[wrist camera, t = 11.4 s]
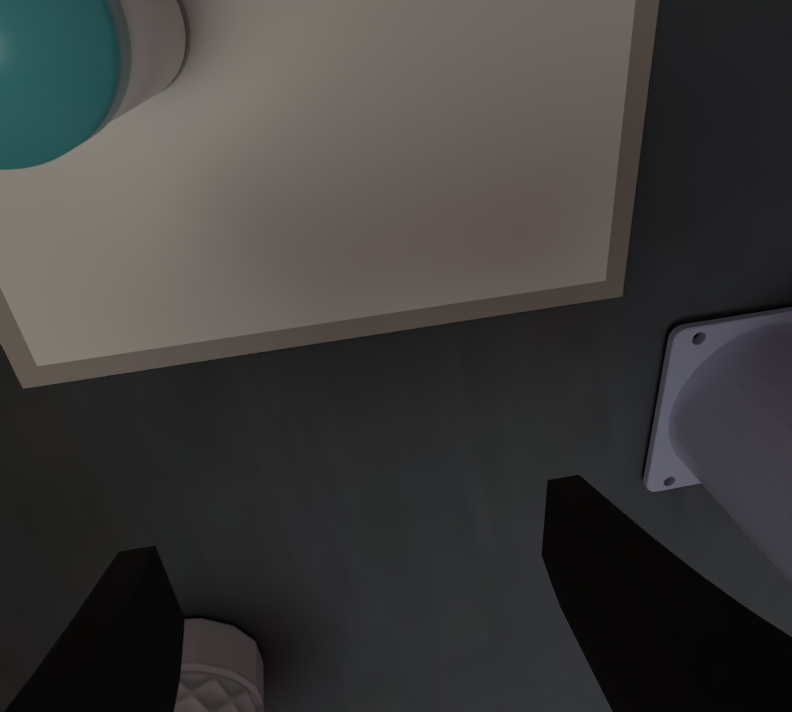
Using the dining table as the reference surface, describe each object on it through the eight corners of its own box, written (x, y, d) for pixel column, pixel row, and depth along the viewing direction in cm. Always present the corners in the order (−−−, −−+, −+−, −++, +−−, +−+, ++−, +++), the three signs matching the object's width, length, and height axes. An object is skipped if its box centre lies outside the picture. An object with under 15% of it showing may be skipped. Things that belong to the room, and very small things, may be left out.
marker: (169, -66, 13) (51, -155, 7) (208, 91, 15) (145, 151, 8) (19, -50, 13) (-272, -126, 6) (75, 108, 15) (-104, 186, 8)
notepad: (694, -323, 13) (706, -332, 13) (619, 294, 21) (625, 298, 20) (-301, -280, 11) (-320, -290, 11) (25, 385, 19) (20, 392, 18)
